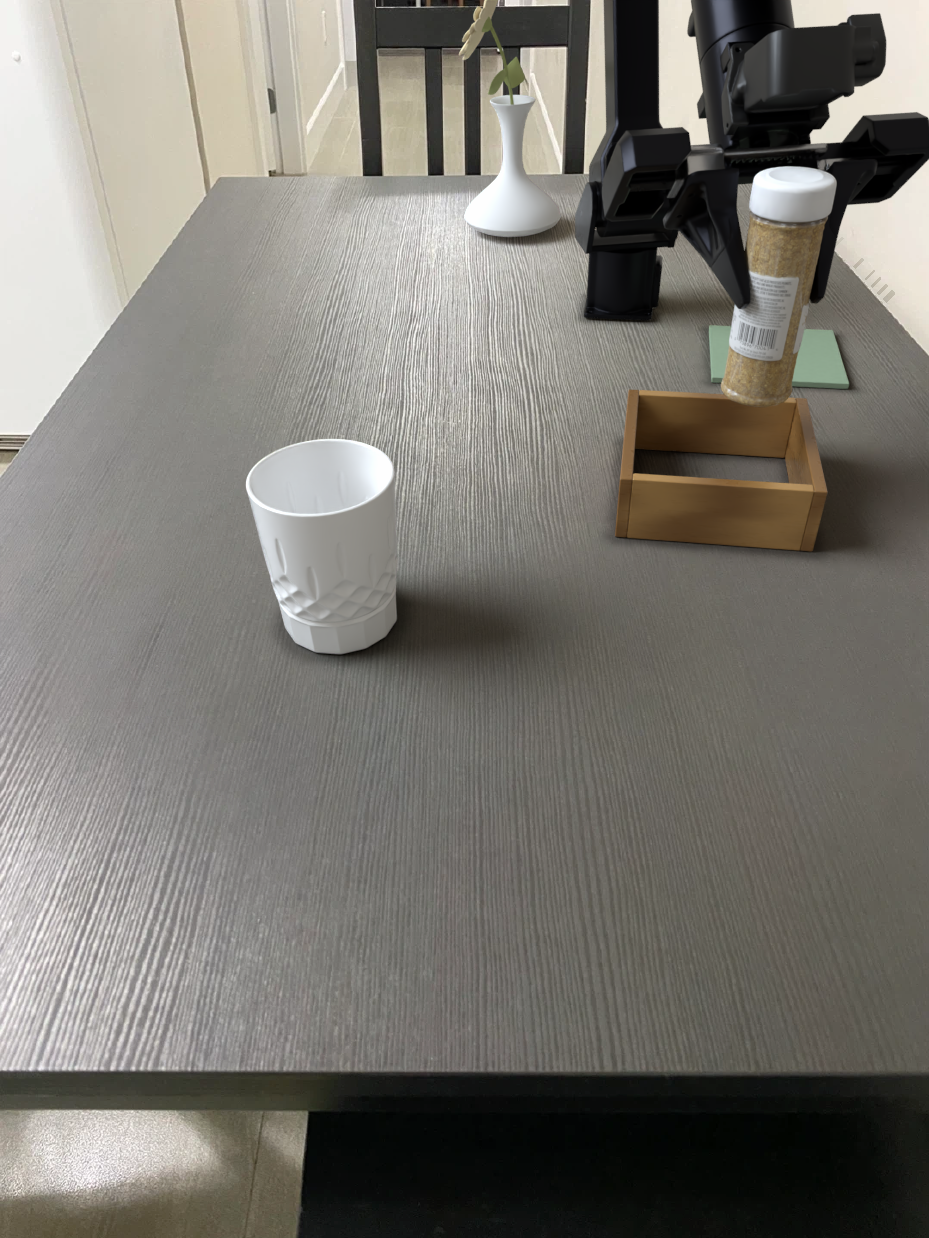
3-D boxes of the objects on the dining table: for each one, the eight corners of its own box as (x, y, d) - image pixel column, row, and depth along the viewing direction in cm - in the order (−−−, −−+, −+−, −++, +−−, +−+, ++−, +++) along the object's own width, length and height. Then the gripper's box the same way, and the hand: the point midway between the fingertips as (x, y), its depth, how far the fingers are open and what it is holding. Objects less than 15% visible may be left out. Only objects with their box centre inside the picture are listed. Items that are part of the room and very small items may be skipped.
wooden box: (614, 537, 62) (619, 478, 59) (623, 443, 71) (628, 389, 69) (812, 552, 60) (828, 492, 57) (794, 453, 69) (807, 398, 67)
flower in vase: (499, 210, 117) (497, -32, 101) (578, 224, 112) (590, -29, 96) (436, 240, 109) (424, -18, 93) (518, 257, 104) (520, -13, 88)
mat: (711, 382, 79) (712, 377, 78) (708, 330, 87) (709, 325, 87) (848, 389, 77) (849, 383, 77) (831, 335, 85) (833, 330, 85)
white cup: (280, 583, 59) (252, 443, 53) (405, 574, 59) (392, 433, 53) (271, 667, 53) (238, 521, 47) (409, 657, 53) (396, 509, 47)
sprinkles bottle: (804, 395, 61) (855, 175, 52) (759, 417, 59) (804, 192, 50) (749, 371, 64) (788, 158, 55) (703, 391, 62) (737, 174, 53)
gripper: (630, -39, 48) (667, 252, 47) (972, -56, 50) (1016, 226, 49) (587, 98, 60) (616, 335, 58) (869, 80, 61) (902, 312, 60)
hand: (781, 303), depth 56 cm, fingers closed on sprinkles bottle, 4 cm apart
